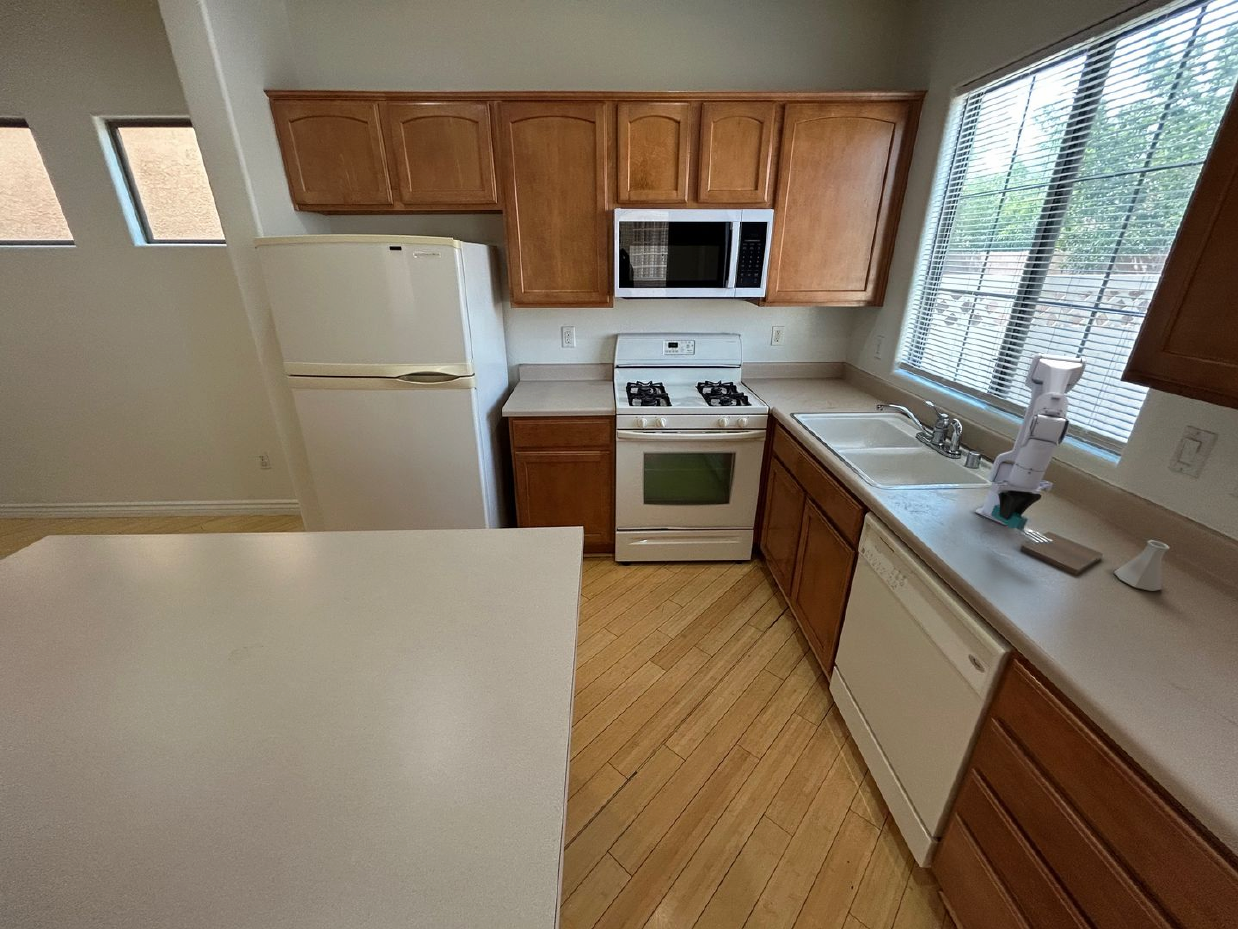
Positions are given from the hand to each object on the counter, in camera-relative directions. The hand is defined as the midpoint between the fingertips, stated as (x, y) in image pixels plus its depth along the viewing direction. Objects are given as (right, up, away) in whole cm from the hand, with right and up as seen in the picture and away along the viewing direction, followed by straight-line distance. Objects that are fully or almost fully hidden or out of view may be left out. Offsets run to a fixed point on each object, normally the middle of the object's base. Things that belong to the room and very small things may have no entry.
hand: (1008, 517), depth 114 cm
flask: (+22, -14, -8) cm, 27 cm away
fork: (0, -3, -3) cm, 4 cm away
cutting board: (+13, -9, +1) cm, 16 cm away
